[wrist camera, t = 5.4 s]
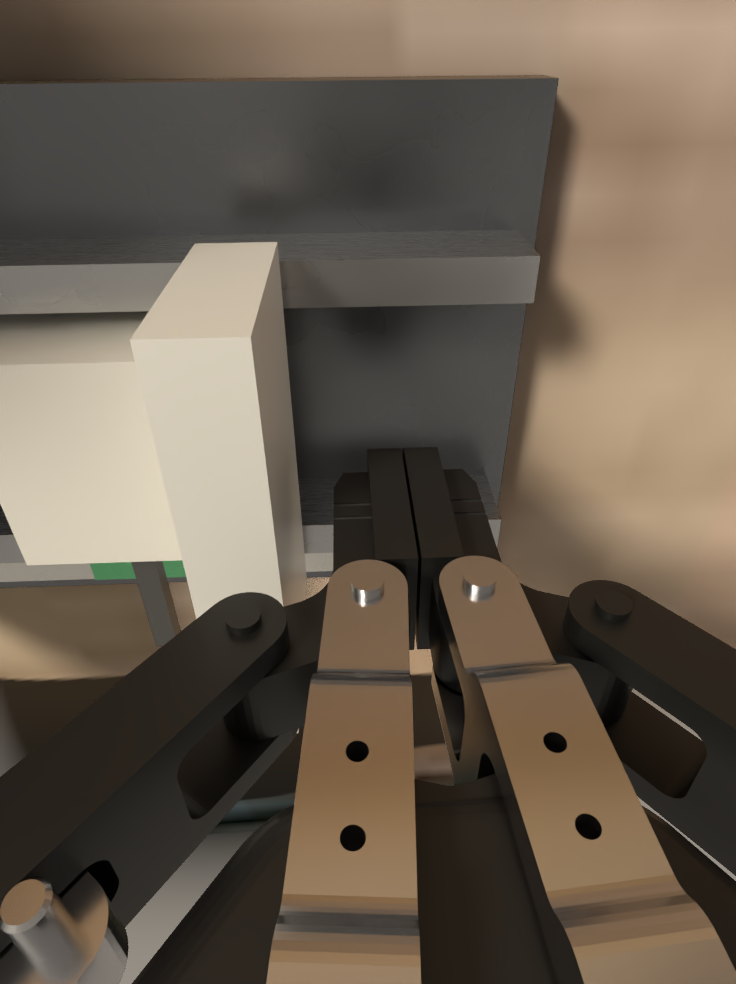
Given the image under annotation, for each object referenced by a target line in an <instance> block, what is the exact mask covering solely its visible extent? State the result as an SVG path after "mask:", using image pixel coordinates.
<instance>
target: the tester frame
mask: <svg viewBox="0 0 736 984" xmlns="http://www.w3.org/2000/svg"><path fill="white" fill-rule="evenodd" d="M558 79H559V78H555V77H550V76H545V75H517V76H421V77H324V78H227V79H131V80H34V81H0V316H1V315H3V314H45V313H92V312H140V311H149V310H150V309H151V307H152V306H153V305H154V303H155V302H156V300H157V299H158V297H159V296H160V294H161V293H162V291H163V290H164V288H165V287H166V285H167V284H168V282H169V281H170V279H171V278H172V276H173V275H174V273H175V272H176V271H177V269H178V268H179V266H180V265H181V263H182V262H183V260H184V259H185V257H186V256H187V254H188V253H189V251H190V250H191V248H192V247H193V245H194V244H195V243H248V242H278V254H279V265H280V277H281V288H282V300H283V311H284V323H285V334H286V346H287V357H288V369H289V380H290V392H291V403H292V415H293V426H294V438H295V449H296V461H297V472H298V484H299V495H300V507H301V518H302V530H303V541H304V553H305V564H306V576H307V578H310V577H331V576H332V573H333V520H334V517H333V513H334V486H335V485H336V483H337V482H338V480H339V479H340V477H341V476H342V474H343V473H353V472H367V449H381V448H401V451H402V450H403V448H409V447H437V448H438V452H439V456H440V460H441V464H442V468H443V469H463V470H464V471H465V472H466V473H467V474H468V475H469V476H470V477H471V478H472V479H473V480H474V481H475V482H476V483H477V486H478V489H479V493H480V496H481V502H483V505H484V508H485V514H486V515H487V518H488V521H489V524H490V528H491V531H492V534H493V537H494V540H495V543H496V547H497V546H498V539H499V532H500V526H501V517H500V514H499V511H498V501H499V494H500V487H501V480H502V473H503V466H504V459H505V452H506V445H507V438H508V431H509V424H510V417H511V410H512V403H513V396H514V389H515V382H516V374H517V367H518V360H519V353H520V346H521V339H522V332H523V325H524V318H525V311H526V304H527V303H534V297H535V290H536V283H537V277H538V270H539V263H540V255H539V254H538V253H537V252H536V250H535V249H534V248H535V241H536V234H537V227H538V220H539V213H540V206H541V199H542V192H543V184H544V177H545V170H546V163H547V156H548V149H549V142H550V135H551V128H552V121H553V114H554V107H555V100H556V93H557V86H558ZM163 565H164V569H165V573H166V577H167V580H168V582H187V578H186V574H185V569H184V565H183V561H182V560H177V561H163ZM131 583H137V580H136V576H135V573H134V570H133V567H132V563H131V562H115V563H85V564H54V565H27V564H26V562H25V560H24V557H23V555H22V553H21V550H20V548H19V546H18V544H17V541H16V539H15V537H14V534H13V532H12V530H11V527H10V525H9V523H8V521H7V518H6V516H5V514H4V511H3V509H2V507H1V504H0V588H13V587H42V586H72V585H102V584H131Z"/></svg>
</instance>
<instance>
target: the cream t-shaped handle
mask: <svg viewBox="0 0 736 984" xmlns="http://www.w3.org/2000/svg"><path fill="white" fill-rule="evenodd" d="M0 504H1V507H2V509H3V511H4V514H5V516H6V518H7V521H8V523H9V525H10V527H11V530H12V532H13V534H14V537H15V539H16V541H17V544H18V546H19V548H20V550H21V553H22V555H23V557H24V560H25V562H26V564H27V565H54V564H85V563H115V562H131V563H132V567H133V570H134V573H135V576H136V580H137V583H138V586H139V590H140V593H141V596H142V600H143V603H144V606H145V609H146V613H147V616H148V619H149V623H150V626H151V629H152V633H153V636H154V639H155V642H156V646H164V645H165V644H166V643H167V642H169V641H170V640H171V639H172V638H174V637H175V636H176V635H177V634H179V633H180V632H181V630H180V626H179V622H178V618H177V614H176V611H175V607H174V603H173V599H172V596H171V592H170V588H169V584H168V580H167V577H166V573H165V569H164V565H163V561H177V560H182V561H183V565H184V569H185V574H186V578H187V582H188V586H189V590H190V595H191V599H192V603H193V607H194V611H195V615H196V619H197V618H198V617H200V616H201V615H202V614H203V613H205V612H206V611H207V610H208V609H210V608H211V607H212V606H213V605H215V604H216V603H217V602H219V601H220V600H222V599H224V598H226V597H229V596H231V595H234V594H238V593H244V592H257V593H263V594H267V595H269V596H271V597H273V598H275V599H276V600H278V601H279V602H280V603H281V604H282V606H283V607H284V606H287V605H291V604H294V603H298V602H301V601H303V600H306V584H307V576H306V564H305V553H304V541H303V530H302V518H301V507H300V495H299V484H298V472H297V461H296V449H295V438H294V426H293V415H292V403H291V392H290V380H289V369H288V357H287V346H286V334H285V323H284V311H283V300H282V288H281V277H280V265H279V254H278V242H248V243H195V244H194V245H193V247H192V248H191V250H190V251H189V253H188V254H187V256H186V257H185V259H184V260H183V262H182V263H181V265H180V266H179V268H178V269H177V271H176V272H175V273H174V275H173V276H172V278H171V279H170V281H169V282H168V284H167V285H166V287H165V288H164V290H163V291H162V293H161V294H160V296H159V297H158V299H157V300H156V302H155V303H154V305H153V306H152V307H151V309H150V310H149V311H140V312H92V313H45V314H3V315H1V316H0ZM297 733H299V728H298V731H297Z"/></svg>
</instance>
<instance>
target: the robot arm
mask: <svg viewBox="0 0 736 984" xmlns="http://www.w3.org/2000/svg"><path fill="white" fill-rule="evenodd" d="M333 517H334V520H333V573H332V576H331V578H330V580H329V582H328V584H327V585H326V586H325V587H324V588H323V589H322V590H321V591H320V592H319V593H317V594H316V595H314V596H312V597H310V598H308V599H306V600H303V601H301V602H298V603H294V604H291V605H287V606H284V607H283V606H282V604H281V603H280V602H279V601H278V600H276V599H275V598H273V597H271V596H269V595H267V594H263V593H257V592H244V593H238V594H234V595H231V596H229V597H226V598H224V599H222V600H220V601H219V602H217V603H216V604H215V605H213V606H212V607H211V608H210V609H208V610H207V611H206V612H205V613H203V614H202V615H201V616H200V617H198V618H197V619H196V620H195V621H193V622H192V623H191V624H190V625H188V626H187V627H186V628H185V629H184V630H182V631H181V632H180V633H179V634H177V635H176V636H175V637H174V638H172V639H171V640H170V641H169V642H167V643H166V644H165V645H164V646H162V647H161V648H160V649H159V650H157V651H156V652H155V653H154V654H152V655H151V656H150V657H149V658H147V659H146V660H145V661H144V662H143V663H141V664H140V665H139V666H138V667H136V668H135V669H134V670H133V671H131V672H130V673H129V674H128V675H126V676H125V677H124V678H123V679H121V680H120V681H119V682H118V683H116V684H115V685H114V686H113V687H112V688H110V689H109V690H108V691H107V692H105V693H104V694H103V695H102V696H100V697H99V698H98V699H97V700H95V701H94V702H93V703H92V704H90V705H89V706H88V707H87V708H85V709H84V710H83V711H82V712H81V713H79V714H78V715H77V716H75V717H74V718H73V719H72V720H71V721H69V722H68V723H67V724H66V725H65V726H63V727H62V728H61V729H59V730H58V731H57V732H56V733H54V734H53V735H52V736H51V737H49V738H48V739H47V740H46V741H44V742H43V743H42V744H41V745H39V746H38V747H37V748H36V749H34V750H33V751H32V752H31V753H30V754H28V755H27V756H26V757H25V758H23V759H22V760H21V761H20V762H19V763H17V764H16V765H15V766H13V767H12V768H11V769H10V770H8V771H7V772H6V773H5V774H4V775H2V776H1V777H0V984H119V983H120V981H121V978H122V975H123V973H124V970H125V967H126V963H127V958H128V937H127V933H126V929H125V927H126V925H128V923H129V922H130V921H131V920H132V919H133V918H134V917H135V916H136V915H137V913H138V912H139V911H140V910H141V909H142V908H143V907H144V906H145V905H146V903H147V902H148V901H149V900H150V899H151V898H152V897H153V896H154V894H155V893H156V892H157V891H158V890H159V889H160V888H161V887H162V886H163V884H164V883H165V882H166V881H167V880H168V879H169V878H170V877H171V875H172V874H173V873H174V872H175V871H176V870H177V869H178V868H179V867H180V866H181V864H182V863H183V862H184V861H185V860H186V859H187V858H188V857H189V855H190V854H191V853H192V852H193V851H194V850H195V849H196V848H197V847H198V845H199V844H200V843H201V842H202V841H203V840H204V839H205V838H206V837H207V835H208V834H209V833H210V832H211V831H212V830H213V829H214V828H215V826H216V825H217V824H218V823H219V822H220V821H221V820H222V819H223V818H224V816H225V815H226V814H227V813H228V812H229V811H230V810H231V809H232V808H233V806H234V805H235V804H236V803H237V802H238V801H239V800H240V799H241V797H242V796H243V795H244V794H245V793H246V792H247V791H248V789H249V788H250V787H251V786H252V785H253V784H254V783H255V782H256V781H257V780H258V778H259V777H260V776H261V775H262V774H263V773H264V772H265V771H266V770H267V768H268V767H269V766H270V765H271V764H272V763H273V762H274V760H276V758H277V757H278V756H279V755H280V754H281V753H282V752H283V751H284V749H285V748H286V747H287V746H288V745H289V744H290V743H291V741H292V740H293V739H294V737H295V735H296V733H297V731H298V728H301V727H304V734H303V741H302V749H301V757H300V764H299V772H298V780H297V788H296V795H295V803H294V805H292V806H290V807H288V808H286V809H285V810H283V811H281V812H280V813H278V814H276V815H275V816H273V817H272V818H270V819H269V820H268V821H267V822H265V823H264V824H263V825H262V826H260V827H259V828H258V829H257V830H256V831H255V832H254V833H253V834H252V835H251V836H250V837H249V838H248V839H247V840H246V841H245V842H244V843H243V844H242V845H241V847H240V848H239V849H238V850H237V851H236V853H235V854H234V855H233V857H232V858H231V859H230V860H229V862H228V863H227V864H226V865H225V867H224V868H223V869H222V870H221V872H220V873H219V874H218V875H217V877H216V878H215V879H214V881H213V882H212V883H211V884H210V886H209V887H208V888H207V889H206V891H205V892H204V893H203V895H202V896H201V897H200V898H199V899H198V901H197V902H196V903H195V905H194V906H193V907H192V908H191V910H190V911H189V912H188V913H187V915H186V916H185V917H184V918H183V920H182V921H181V922H180V924H179V925H178V926H177V927H176V929H175V930H174V931H173V932H172V934H171V935H170V936H169V937H168V939H167V940H166V941H165V942H164V944H163V945H162V947H161V948H160V949H159V950H158V951H157V953H156V954H155V955H154V956H153V958H152V959H151V960H150V962H149V963H148V964H147V965H146V967H145V968H144V969H143V970H142V972H141V973H140V974H139V975H138V977H137V978H136V979H135V980H134V982H133V983H132V984H736V881H735V880H734V879H732V878H731V877H730V876H729V875H728V874H727V873H725V872H724V871H723V870H722V869H721V868H719V867H718V866H717V865H716V864H715V863H714V862H712V861H711V860H710V859H709V858H708V857H707V856H705V855H704V854H703V853H702V852H701V851H699V849H697V848H696V847H695V846H694V845H693V844H691V843H690V842H689V841H688V840H687V839H686V838H685V837H683V836H682V835H681V834H680V833H679V832H677V831H676V830H675V829H674V828H673V827H672V826H670V825H669V824H668V823H667V822H665V821H664V820H663V819H661V818H660V817H659V816H657V815H656V814H654V813H653V812H651V811H650V810H648V809H647V808H645V807H643V806H642V805H641V803H640V801H639V799H638V797H639V798H640V799H641V800H643V801H644V802H645V803H646V804H648V805H649V806H650V807H651V808H653V809H654V810H655V811H656V812H658V813H659V814H660V815H661V816H662V817H664V818H665V819H666V820H668V821H669V822H670V823H671V824H672V825H674V826H675V827H676V828H678V829H679V830H680V831H681V832H682V833H683V834H685V835H686V836H687V837H688V838H690V839H691V840H692V841H693V842H695V843H696V844H697V845H699V846H700V847H701V848H702V849H703V850H704V851H706V852H707V853H708V854H709V855H711V856H712V857H713V858H714V859H716V860H717V861H718V862H719V863H721V864H722V865H723V866H724V867H726V868H727V869H728V870H729V871H731V872H732V873H733V874H734V875H735V876H736V649H734V648H733V647H731V646H729V645H727V644H726V643H724V642H722V641H721V640H719V639H717V638H716V637H714V636H712V635H711V634H709V633H707V632H705V631H704V630H702V629H700V628H699V627H697V626H695V625H694V624H692V623H690V622H688V621H687V620H685V619H683V618H682V617H680V616H678V615H677V614H675V613H673V612H671V611H670V610H668V609H666V608H665V607H663V606H661V605H660V604H658V603H656V602H654V601H653V600H651V599H649V598H648V597H646V596H644V595H643V594H641V593H639V592H638V591H636V590H634V589H632V588H630V587H628V586H626V585H623V584H620V583H617V582H613V581H606V580H595V581H589V582H585V583H583V584H580V585H579V586H577V587H576V588H575V589H574V590H573V591H572V593H571V594H570V597H564V596H559V595H554V594H550V593H545V592H541V591H537V590H534V589H531V588H529V587H527V586H525V585H523V584H521V583H520V582H519V580H518V578H517V576H516V575H515V573H514V572H513V571H512V570H511V569H510V568H509V567H508V566H506V565H505V564H503V563H502V562H501V559H500V556H499V553H498V550H497V547H496V543H495V540H494V537H493V534H492V531H491V528H490V524H489V521H488V518H487V515H486V514H485V508H484V505H483V502H481V496H480V493H479V489H478V486H477V483H476V482H475V481H474V480H473V479H472V478H471V477H470V476H469V475H468V474H467V473H466V472H465V471H464V470H463V469H443V468H442V464H441V460H440V456H439V452H438V448H437V447H409V448H403V450H402V451H401V448H381V449H367V472H353V473H343V474H342V476H341V477H340V479H339V480H338V482H337V483H336V485H335V486H334V513H333ZM415 635H416V643H417V649H431V655H432V661H433V669H432V688H433V692H434V696H435V700H436V705H437V709H438V713H439V717H440V721H441V726H442V730H443V734H444V738H445V742H446V746H447V751H448V755H449V759H450V763H451V767H452V772H453V778H454V786H445V785H440V784H435V783H430V782H425V781H420V780H416V779H414V747H413V714H412V713H413V711H412V710H413V709H412V679H411V675H410V662H409V650H414V641H415ZM633 688H634V689H635V690H637V691H638V692H640V693H641V694H642V695H644V696H645V697H647V698H648V699H650V700H651V701H653V702H654V703H655V704H657V705H658V706H660V707H661V708H663V709H664V710H665V711H667V712H668V713H670V714H671V715H673V716H674V717H676V718H677V719H678V720H680V721H681V722H683V723H684V724H686V725H687V726H688V727H690V728H691V729H693V730H694V731H695V732H696V733H697V734H698V735H699V737H700V738H701V739H702V741H701V740H700V739H698V738H697V737H695V736H694V735H693V734H691V733H690V732H688V731H687V730H685V729H684V728H683V727H681V726H680V725H678V724H677V723H676V722H674V721H672V720H671V719H670V718H668V717H667V716H665V715H664V714H663V713H661V712H660V711H658V710H657V709H655V708H654V707H653V706H651V705H650V704H648V703H647V702H646V701H644V700H642V699H641V698H640V697H639V696H637V695H636V694H634V693H633V692H631V691H632V689H633ZM637 796H638V797H637Z"/></svg>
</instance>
